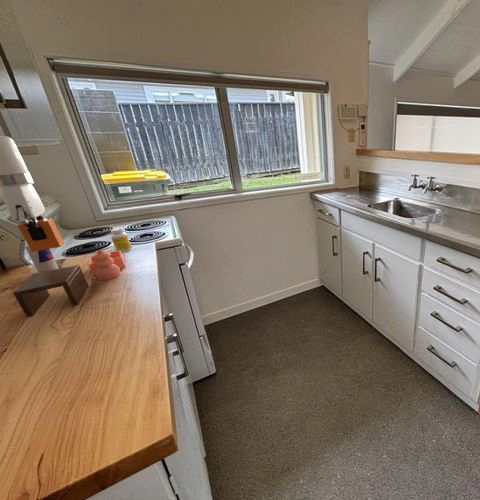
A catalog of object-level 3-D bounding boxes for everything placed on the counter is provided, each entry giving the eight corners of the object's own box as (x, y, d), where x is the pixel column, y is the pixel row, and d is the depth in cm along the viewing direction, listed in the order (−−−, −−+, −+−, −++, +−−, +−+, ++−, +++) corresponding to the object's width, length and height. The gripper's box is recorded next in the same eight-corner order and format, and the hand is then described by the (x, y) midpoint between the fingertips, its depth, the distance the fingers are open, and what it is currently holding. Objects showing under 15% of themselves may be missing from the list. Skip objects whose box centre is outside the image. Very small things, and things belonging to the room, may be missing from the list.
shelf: (27, 317, 79) (12, 292, 75) (44, 296, 89) (32, 273, 86) (78, 304, 83) (66, 281, 80) (89, 286, 94) (79, 264, 91)
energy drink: (62, 271, 105) (47, 242, 101) (43, 278, 101) (26, 247, 96) (57, 269, 108) (42, 239, 103) (38, 274, 104) (22, 244, 99)
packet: (31, 251, 90) (17, 225, 86) (36, 247, 93) (22, 221, 89) (60, 246, 93) (47, 220, 89) (64, 243, 96) (52, 217, 92)
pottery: (93, 266, 108) (83, 243, 104) (124, 259, 114) (115, 236, 110) (92, 284, 95) (80, 257, 91) (126, 275, 101) (116, 249, 97)
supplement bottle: (117, 253, 120) (109, 232, 116) (116, 250, 124) (107, 229, 120) (132, 249, 123) (125, 228, 119) (131, 246, 127) (123, 226, 123)
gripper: (10, 178, 89) (38, 232, 97) (-20, 185, 76) (15, 248, 83) (41, 175, 93) (66, 228, 100) (18, 182, 79) (49, 242, 86)
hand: (43, 236), depth 91 cm, fingers closed on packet, 4 cm apart
